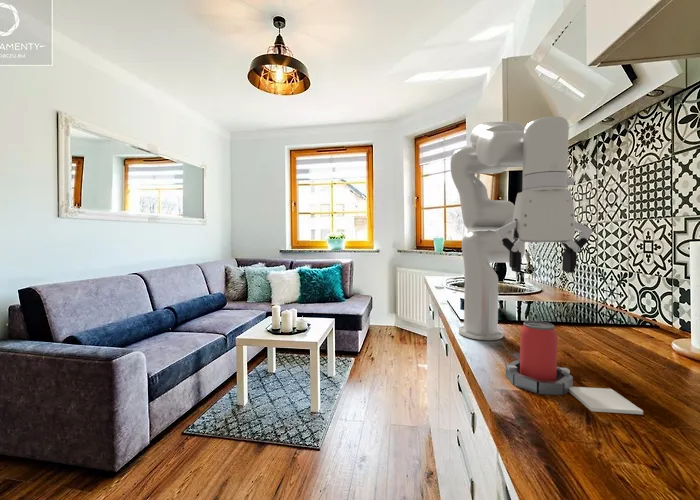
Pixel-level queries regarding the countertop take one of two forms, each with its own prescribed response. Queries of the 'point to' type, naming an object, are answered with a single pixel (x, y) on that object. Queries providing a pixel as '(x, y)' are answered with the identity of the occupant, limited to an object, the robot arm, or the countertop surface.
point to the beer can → (538, 350)
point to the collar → (540, 385)
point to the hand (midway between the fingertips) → (541, 271)
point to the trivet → (604, 400)
